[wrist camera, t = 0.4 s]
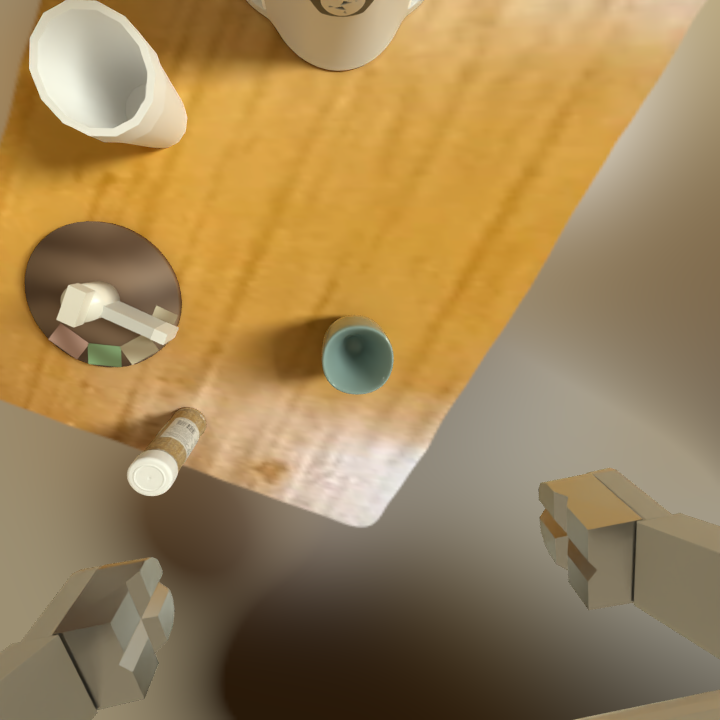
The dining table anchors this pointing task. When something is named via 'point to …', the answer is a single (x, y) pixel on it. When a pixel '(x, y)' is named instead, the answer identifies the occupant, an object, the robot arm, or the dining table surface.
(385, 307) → the dining table surface
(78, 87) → the foam cup
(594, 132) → the dining table surface
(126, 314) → the cream toy mallet
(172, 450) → the sprinkles bottle
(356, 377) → the cup
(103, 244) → the dial
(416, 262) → the dining table surface
